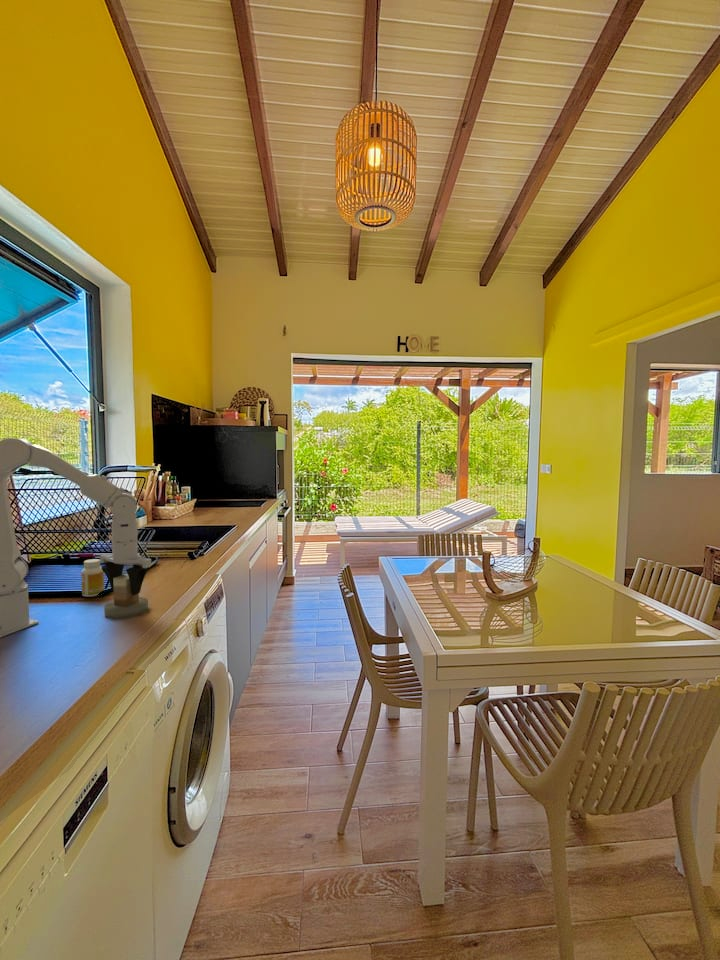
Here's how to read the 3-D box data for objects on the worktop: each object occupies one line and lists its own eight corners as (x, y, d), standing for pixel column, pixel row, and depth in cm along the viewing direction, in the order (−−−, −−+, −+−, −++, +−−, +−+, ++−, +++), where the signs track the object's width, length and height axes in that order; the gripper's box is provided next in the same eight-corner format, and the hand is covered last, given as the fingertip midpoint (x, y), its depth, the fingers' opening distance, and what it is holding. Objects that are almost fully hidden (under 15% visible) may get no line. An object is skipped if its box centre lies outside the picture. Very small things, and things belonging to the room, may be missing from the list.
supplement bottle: (108, 591, 130) (107, 558, 129) (95, 597, 124) (94, 563, 124) (90, 590, 130) (89, 557, 130) (77, 596, 125) (76, 562, 124)
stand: (126, 620, 109) (126, 612, 109) (94, 615, 112) (94, 607, 112) (156, 606, 118) (156, 599, 118) (126, 602, 121) (126, 594, 121)
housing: (126, 607, 112) (125, 579, 112) (114, 605, 114) (113, 578, 113) (138, 601, 116) (138, 575, 116) (126, 599, 117) (126, 573, 117)
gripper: (159, 539, 115) (160, 590, 116) (115, 535, 120) (116, 584, 121) (138, 545, 108) (139, 599, 110) (92, 540, 113) (94, 592, 114)
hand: (126, 592), depth 115 cm, fingers open, 6 cm apart
